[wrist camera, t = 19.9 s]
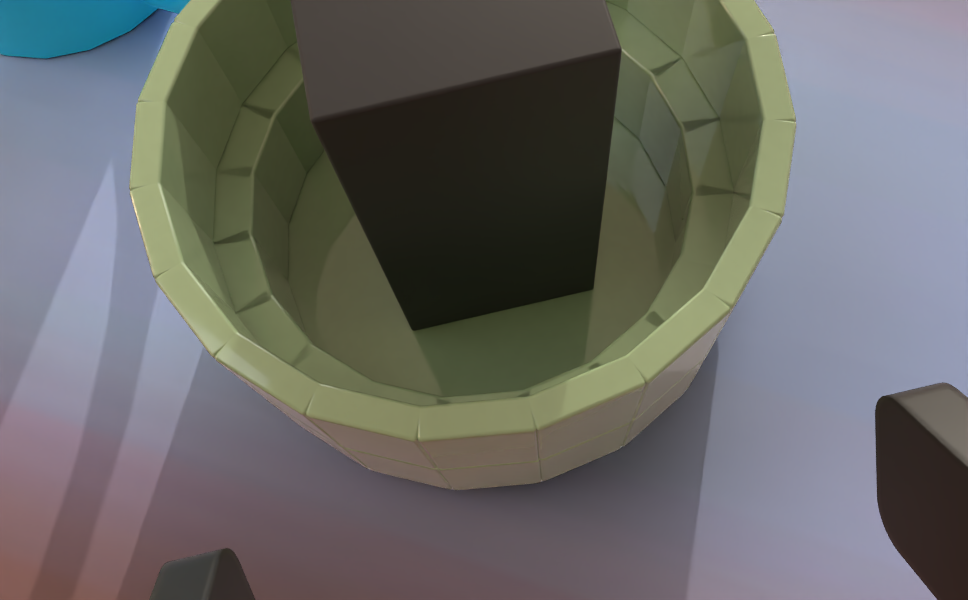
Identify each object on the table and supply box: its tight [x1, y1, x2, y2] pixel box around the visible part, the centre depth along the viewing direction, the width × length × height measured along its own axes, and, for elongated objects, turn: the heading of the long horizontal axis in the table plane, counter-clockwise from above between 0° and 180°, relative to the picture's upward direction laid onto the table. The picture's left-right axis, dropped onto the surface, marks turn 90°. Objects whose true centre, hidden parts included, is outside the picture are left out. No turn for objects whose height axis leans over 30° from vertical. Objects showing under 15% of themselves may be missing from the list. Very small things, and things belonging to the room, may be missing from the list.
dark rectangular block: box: [290, 0, 622, 331], centre depth 17 cm, size 4×4×9 cm
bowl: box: [129, 0, 796, 490], centre depth 19 cm, size 12×12×6 cm
